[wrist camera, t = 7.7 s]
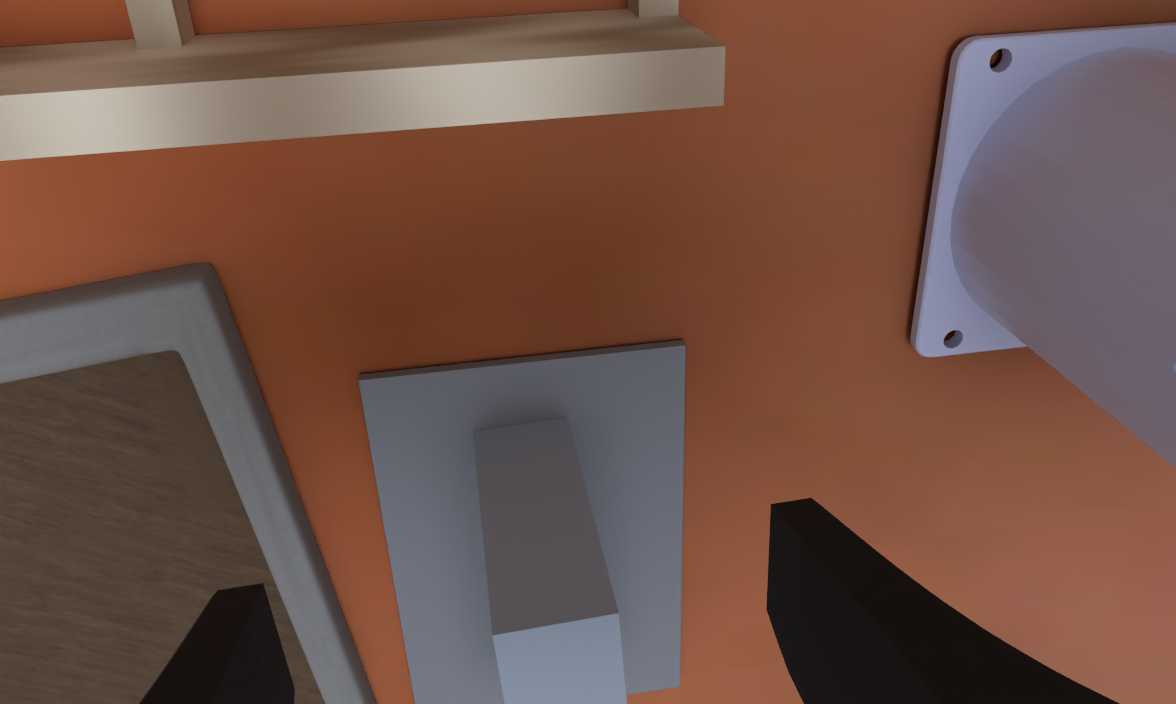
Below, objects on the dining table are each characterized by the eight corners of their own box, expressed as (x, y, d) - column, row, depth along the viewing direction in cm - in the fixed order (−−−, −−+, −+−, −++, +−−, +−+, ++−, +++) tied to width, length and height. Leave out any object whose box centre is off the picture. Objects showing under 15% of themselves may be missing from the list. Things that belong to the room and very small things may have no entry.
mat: (682, 339, 24) (685, 345, 23) (677, 679, 30) (679, 686, 29) (359, 374, 23) (358, 380, 23) (419, 718, 29) (418, 726, 28)
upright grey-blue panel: (567, 416, 24) (618, 613, 18) (592, 644, 28) (641, 869, 22) (472, 432, 24) (492, 635, 18) (511, 659, 28) (538, 891, 21)
